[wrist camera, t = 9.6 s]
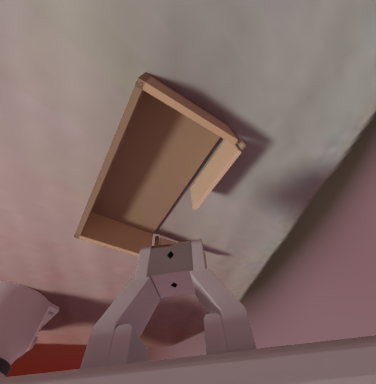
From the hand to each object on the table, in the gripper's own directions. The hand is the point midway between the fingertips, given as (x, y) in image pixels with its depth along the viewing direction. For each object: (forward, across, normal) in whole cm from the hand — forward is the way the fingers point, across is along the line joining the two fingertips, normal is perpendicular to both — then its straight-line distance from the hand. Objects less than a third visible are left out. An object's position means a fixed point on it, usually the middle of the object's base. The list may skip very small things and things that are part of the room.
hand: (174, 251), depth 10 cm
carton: (+16, +4, +4) cm, 17 cm away
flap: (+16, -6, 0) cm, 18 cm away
